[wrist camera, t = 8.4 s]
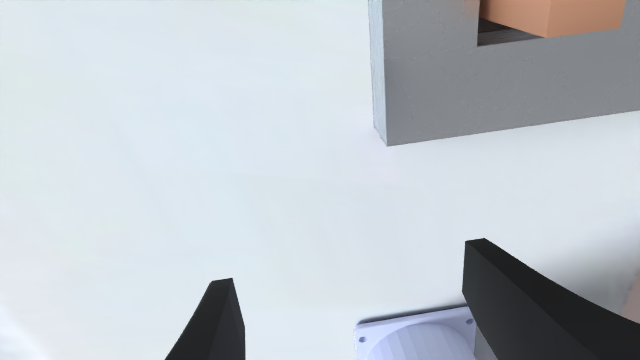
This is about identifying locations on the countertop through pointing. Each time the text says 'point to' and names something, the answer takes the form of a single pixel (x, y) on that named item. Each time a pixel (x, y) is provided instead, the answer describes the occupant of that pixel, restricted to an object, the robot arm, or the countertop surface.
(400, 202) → the countertop surface
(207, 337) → the robot arm
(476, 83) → the grey square base
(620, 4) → the pin
